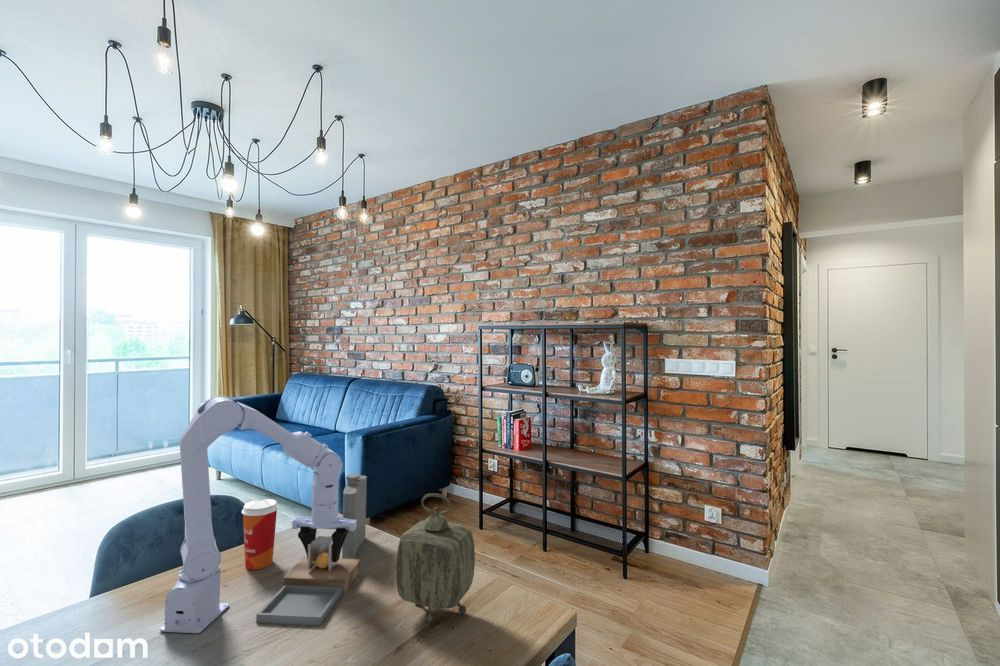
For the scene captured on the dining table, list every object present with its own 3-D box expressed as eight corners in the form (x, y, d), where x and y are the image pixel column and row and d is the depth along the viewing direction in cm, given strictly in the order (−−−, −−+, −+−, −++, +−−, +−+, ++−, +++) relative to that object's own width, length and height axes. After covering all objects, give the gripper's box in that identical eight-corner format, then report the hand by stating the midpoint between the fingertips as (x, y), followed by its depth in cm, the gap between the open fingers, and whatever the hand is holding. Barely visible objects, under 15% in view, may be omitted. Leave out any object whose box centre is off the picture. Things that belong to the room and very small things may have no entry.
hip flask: (353, 563, 119) (355, 484, 119) (336, 564, 118) (338, 484, 119) (366, 536, 135) (367, 466, 135) (351, 537, 134) (353, 466, 134)
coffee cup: (241, 559, 119) (242, 500, 120) (277, 554, 123) (278, 496, 123) (238, 575, 112) (240, 511, 112) (277, 568, 115) (278, 507, 115)
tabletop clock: (474, 611, 99) (476, 492, 99) (455, 636, 91) (458, 506, 91) (413, 597, 104) (415, 483, 104) (390, 620, 96) (393, 496, 96)
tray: (320, 625, 93) (320, 617, 93) (256, 622, 94) (256, 614, 94) (341, 594, 104) (342, 587, 105) (284, 592, 105) (284, 584, 105)
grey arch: (330, 571, 108) (331, 545, 108) (307, 570, 108) (308, 544, 108) (339, 561, 113) (339, 535, 113) (316, 560, 113) (317, 535, 113)
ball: (327, 571, 109) (328, 556, 109) (313, 571, 109) (313, 556, 109) (333, 564, 112) (334, 550, 112) (319, 563, 112) (320, 549, 112)
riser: (344, 594, 105) (344, 580, 105) (282, 591, 105) (283, 577, 105) (359, 571, 115) (360, 559, 115) (303, 569, 115) (303, 556, 115)
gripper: (361, 496, 114) (360, 553, 114) (302, 494, 115) (301, 550, 115) (351, 507, 107) (349, 567, 107) (288, 504, 108) (286, 564, 108)
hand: (323, 559), depth 110 cm, fingers closed on grey arch, 5 cm apart
